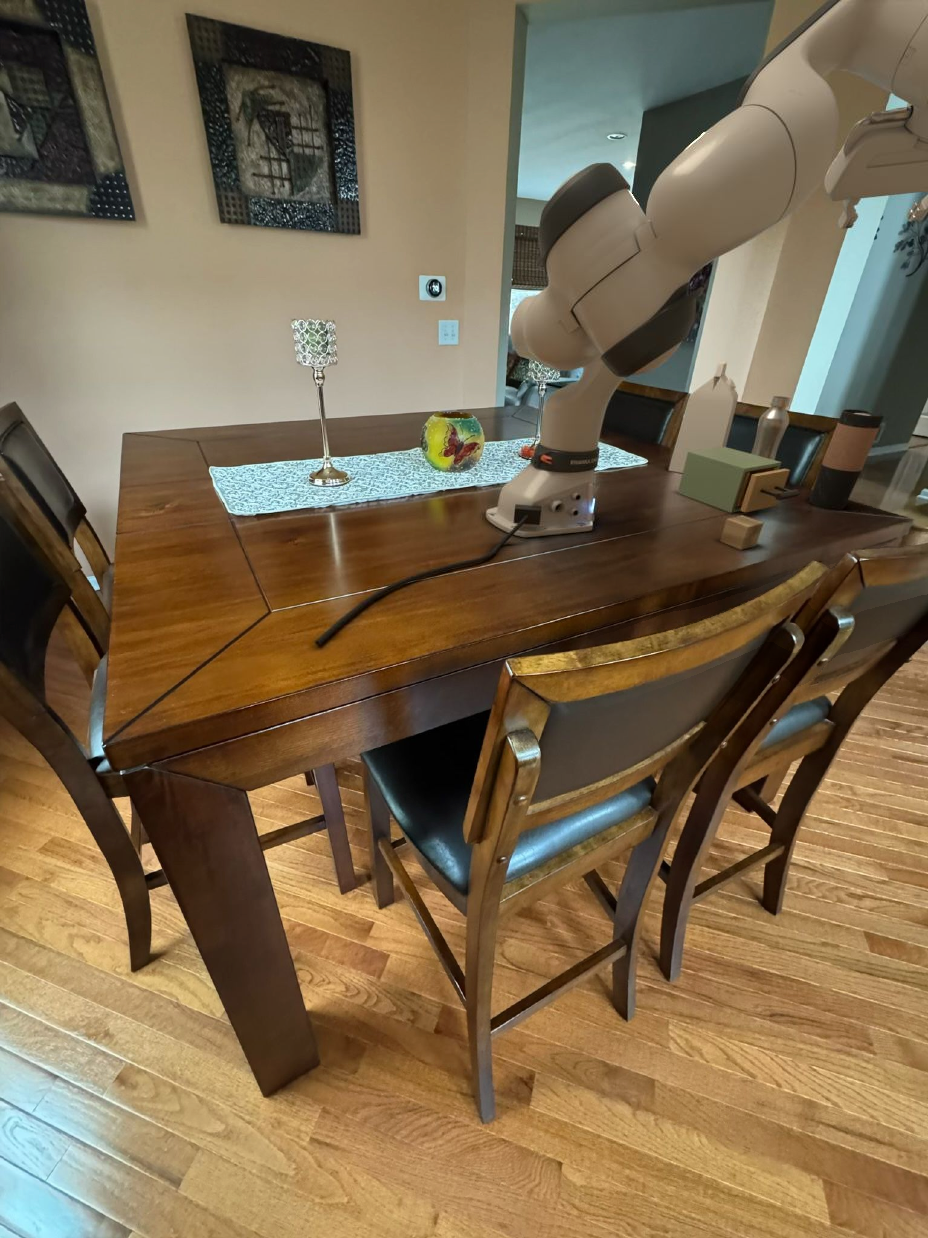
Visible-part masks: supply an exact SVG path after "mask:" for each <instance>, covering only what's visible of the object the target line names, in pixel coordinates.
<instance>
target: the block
mask: <svg viewBox="0 0 928 1238" xmlns="http://www.w3.org/2000/svg"><path fill="white" fill-rule="evenodd" d="M763 527H764V523H763V522H762V521H759V520H756V519H754V518H751V517H749V516H745V515H743V514H741V515H738V516H733V517H729V518H726V521H725V524H724V527H723V529H722V533H721V537H720V539H719V542H721V543H723V544H726V545H728V546H730V547H733V548H735V549H737V550H739V551H742V550H744V549H749V548H753V547H756V546H757V543H758V542H759V541H758V540H759V537H760V535H761V532H762V529H763Z"/></svg>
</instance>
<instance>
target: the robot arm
mask: <svg viewBox="0 0 928 1238" xmlns="http://www.w3.org/2000/svg"><path fill="white" fill-rule="evenodd" d="M831 71H844V72H847V73H851V74H853V75H856V76H858V77H861V79H864V80H866V81H868V82H870V83H871V84H873V85H875V86H877V87H879V88H881V89H883V90H884V91H886V92H888V93H891V94H892V95H893V96H895V97H896V98H898V99H900V100H901V101H904V102H905V103H907V104H906V106H904V107H897V108H892V109H888V110H884V109H878V110H874V111H872V112H870V114H869V115H867V116H865V117H864V118H862V119H861V120H859V121H858V122H856V123H855V124H854V125H853V126H852V127H851V129H850V131H849V133H848V134H847V135H848V136H847V137H846V138H845V139H846V140H845V142H844V144H843V145H842V147H841V149H840V150H839V152H838V154H837V156H836V157H835V159H834V156H835V153H836V150H837V145H838V139H839V130H840V129H839V128H840V117H839V115H840V114H839V107H838V103H837V98H836V96H835V93H834V91H833V89H832V88H831V86H830V85H829V84H828V82H827V81H826V80H825V79H824V78H825V77H826V76H827V75H828V74H830V72H831ZM706 130H707V131H705V132H703V133H702V134H701V135H700V136H699V137H698V138H697V139H695V140H694V141H693V142H691V143H690V144H689V145H688V146H687V147H686V148H685V149H684V150H683V151H682V152H680V154H678V155H677V156H676V158H674V160H673V161H672V162H671V163H670V164H669V165H668V166H667V167H666V168H665V169H663V171H662V172H661V174H659V176H658V177H657V178H656V181H655V182H654V184H653V186H652V188H651V190H650V193H649V196H648V199H647V204H646V208H645V212H644V210H643V209H642V208H641V206H640V204H639V203H638V201H637V200H636V198H635V197H634V195H633V194H632V193H631V192H630V191H631V189H632V188H631V187H632V186H631V185H630V183H629V181H628V180H627V179H626V178H625V176H624V175H623V174H622V173H621V172H620V171H619V170H618V168H616V166H615V165H613V164H612V163H611V162H595V163H592V164H590V165H588V166H586V167H585V168H582V169H581V170H578V171H577V172H575V173H573V174H572V175H571V176H569V177H568V178H567V179H565V180H564V181H563V182H562V183H561V185H559V187H557V189H556V190H555V191H554V193H553V195H552V196H551V197H550V199H549V200H548V201H547V203H546V204H545V205H544V206H543V209H542V211H541V214H540V220H539V225H538V231H537V239H538V240H537V241H538V248H539V258H538V259H537V261H536V269H537V270H544V273H545V275H546V276H547V280H548V284H547V286H546V287H545V288H544V289H543V290H541V291H540V292H539V293H538V294H535V295H530V296H525V297H524V298H523V299H522V300H520V302H519V303H518V304H517V306H516V307H515V309H514V311H513V313H512V317H511V320H510V325H509V330H510V332H509V334H510V339H511V341H510V342H511V344H512V347H513V349H514V350H515V352H516V354H517V355H518V356H519V357H520V358H524V359H527V360H530V361H532V362H533V361H534V362H538V363H539V364H541V366H544V367H546V368H547V369H550V370H554V371H558V372H559V371H560V372H568V371H574V370H577V369H582V374H581V377H580V378H579V379H578V380H577V381H576V382H573V383H571V384H570V383H569V384H568V385H566V386H563V387H561V388H559V389H557V390H555V391H553V392H552V393H551V394H550V395H549V396H548V397H547V399H546V400H545V402H544V405H543V411H542V419H541V428H540V429H541V430H540V437H539V441H538V442H537V444H536V447H535V448H533V447H530V446H529V445H523V446H522V448H521V450H520V452H521V453H520V454H521V456H522V457H525V458H527V459H530V463H529V464H528V465H527V466H525V467H524V468H523V469H522V470H521V471H520V472H518V473H517V475H515V476H514V477H513V478H512V479H510V480H509V481H508V482H506V484H505V485H503V486H502V487H501V491H500V494H499V497H498V501H497V506H495V507H492V508H488V509H486V512H485V519H487V521H488V522H489V523H491V524H492V525H493V526H495V527H497V528H498V529H500V530H502V531H503V532H506V533H507V534H506V535H505V536H504V537H503V538H502V539H501V540H500V541H499V542H498V543H497V545H496V546H494V548H493V549H492V550H491V551H489V553H487V554H485V555H482V556H479V557H476V558H472V559H468V560H463V561H458V562H454V563H450V564H447V565H443V566H439V567H436V568H432V569H429V570H425V571H422V572H418V573H416V574H413V575H410V576H408V577H405V578H403V579H401V580H398V581H395V582H394V583H392V584H390V585H387V586H385V587H383V588H381V589H380V590H378V591H376V592H374V593H373V594H372V595H370V596H368V597H367V598H365V599H364V600H362V601H361V602H360V603H359V604H357V605H356V606H355V607H353V609H351V610H349V612H347V613H346V614H345V615H343V616H342V617H341V618H339V620H338V621H336V622H335V623H334V624H333V625H332V626H331V627H330V628H329V629H327V630H326V631H325V632H324V633H323V634H322V635H320V636H319V638H317V639H316V640H315V642H314V643H315V645H316V646H321V645H322V644H323V643H324V642H326V640H327V639H329V638H330V637H331V636H332V635H333V634H334V633H335V632H336V631H337V630H339V629H340V628H341V627H342V626H343V625H344V624H345V623H347V622H348V621H349V620H350V619H351V618H353V616H355V615H356V614H357V613H359V612H360V611H361V610H362V609H364V608H366V606H367V605H369V604H371V602H373V601H375V600H376V599H378V598H379V597H381V596H383V595H385V594H386V593H388V592H390V591H392V590H394V589H397V588H398V587H401V586H403V585H405V584H407V583H410V582H413V581H415V580H418V579H421V578H424V577H427V576H430V575H434V574H438V573H441V572H442V573H443V572H445V571H449V570H452V569H455V568H460V567H465V566H469V565H474V564H477V563H481V562H483V561H487V560H488V559H490V558H492V557H493V556H494V555H496V554H497V552H498V551H499V550H500V548H502V546H504V544H506V543H507V542H508V540H509V539H511V537H512V536H517V537H521V538H533V537H543V536H553V535H563V534H570V533H571V534H572V533H573V534H574V533H582V532H591V531H592V530H593V527H594V523H593V522H594V521H595V518H596V517H595V512H594V511H595V510H594V508H595V503H596V502H595V501H596V498H594V489H595V487H594V486H595V471H596V470H595V469H596V468H597V467H598V463H599V459H600V451H601V450H600V447H599V442H600V438H601V437H600V436H601V431H602V428H603V423H604V420H605V419H604V418H605V414H606V410H607V408H608V405H609V403H610V401H611V398H612V396H613V395H614V393H615V392H616V390H617V389H618V387H619V386H620V384H621V383H623V382H624V380H625V379H626V378H629V377H631V376H637V375H642V374H646V373H648V372H651V371H653V370H656V369H657V368H658V367H660V366H661V365H663V364H664V363H666V362H667V361H668V360H669V359H670V358H671V357H672V356H673V355H674V354H675V353H676V351H677V350H678V349H679V347H680V345H682V342H683V341H685V340H686V339H687V337H688V336H689V334H690V331H691V329H692V326H693V323H694V322H695V319H696V309H697V300H698V298H699V297H700V296H702V295H703V293H704V290H703V289H704V287H703V286H700V287H699V288H697V289H695V290H694V291H692V292H690V293H689V288H690V284H691V279H692V278H693V277H694V275H695V274H697V273H698V272H699V271H700V270H702V269H703V267H705V266H706V265H708V264H709V263H711V262H713V261H714V260H716V259H718V258H720V257H721V256H724V255H726V254H727V253H730V252H731V251H733V250H735V249H738V248H739V247H741V246H743V245H745V244H747V243H748V242H750V241H752V240H754V239H755V238H757V237H758V236H760V235H761V234H763V233H765V232H766V231H768V230H769V229H771V228H772V227H774V226H775V225H777V224H779V223H780V222H782V221H783V220H784V219H786V218H787V217H789V216H790V215H791V214H793V213H794V212H796V211H797V210H798V209H799V208H800V207H801V206H803V204H804V203H806V202H807V200H809V199H810V198H811V196H813V194H814V193H815V192H816V190H818V188H819V187H820V185H821V184H822V182H823V185H824V189H825V192H826V195H827V197H828V198H829V200H830V201H831V202H839V201H842V205H843V208H842V209H843V211H842V212H841V215H840V216H839V218H838V221H837V225H838V228H839V230H843V229H844V230H845V229H852V228H853V227H854V224H855V223H856V221H857V220H858V218H859V214H858V213H857V209H856V208H854V206H858V205H859V203H860V202H861V199H868V198H879V197H889V196H896V195H897V196H898V195H907V194H916V193H917V194H918V193H924V192H925V193H926V192H928V0H826V1H825V3H823V4H821V6H820V7H819V8H818V9H817V10H816V11H814V12H813V13H812V14H811V15H809V17H808V18H806V19H805V20H804V21H803V22H802V23H800V25H798V26H797V27H796V28H795V29H794V30H793V31H792V32H791V33H789V35H788V36H786V37H785V38H784V39H783V40H782V41H781V42H780V43H779V44H777V45H776V47H774V48H773V50H771V51H770V52H769V53H768V54H767V55H766V56H765V57H764V58H763V59H762V60H761V61H760V63H758V65H757V66H756V67H755V68H754V70H753V71H752V72H751V74H750V75H749V76H748V77H747V80H746V81H745V83H744V84H743V86H742V88H741V90H740V91H739V94H738V96H737V99H736V102H735V105H734V108H733V111H732V112H730V113H729V114H727V115H726V116H724V117H723V118H722V119H720V120H719V121H717V122H716V123H715V124H714V125H712V126H711V127H710V128H708V129H706ZM833 160H834V161H833ZM823 180H824V181H823ZM927 215H928V194H927V195H926V196H925V197H924V198H922V199H921V200H920V201H919V200H918V201H914V203H913V204H912V205H911V208H910V209H909V210H908V212H907V217H906V218H907V219H908V222H910V223H912V222H913V223H914V222H922V221H923V220H924V219H925V218H926V216H927Z"/></svg>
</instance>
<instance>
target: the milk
mask: <svg viewBox="0 0 928 1238" xmlns="http://www.w3.org/2000/svg"><path fill="white" fill-rule="evenodd" d="M727 365H728V362H726V361H720V362H719V363H717V366H716V369H715V373H714V376H713V377H712V378H710V379H709V380H707V382H705V383H704V384H702V385H701V386H700V387H698V388H697V389H696V390H694V391H693V392H692V393H690V395H689V398H688V400H687V403H686V407H685V410H684V413H683V417H682V421H681V424H680V427H679V432H678V435H677V438H676V442H675V445H674V449H673V452H672V456H671V459H670V463H669V466H668V471H669V472H674V473H675V472H676V473H681V474H683V470H684V466H685V462H686V458H687V454H688V452H690V451H697V450H704V449H711V448H719V447H727V444H728V439H729V435H730V431H731V428H732V423H733V419H734V416H735V411H736V408H737V405H738V400H739V394H738V392H737V390H736V388H737V386H736V384H735V382H734V380H733V378H731V377H730V378H728V377H727V375H726V370H727Z"/></svg>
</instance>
